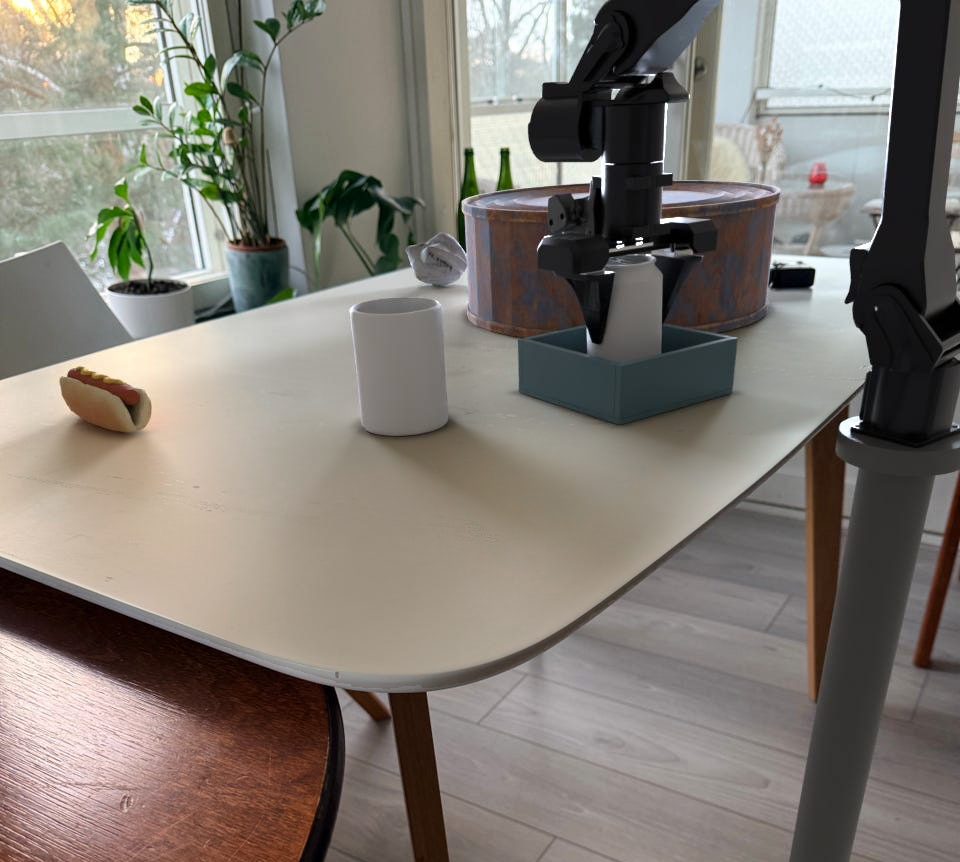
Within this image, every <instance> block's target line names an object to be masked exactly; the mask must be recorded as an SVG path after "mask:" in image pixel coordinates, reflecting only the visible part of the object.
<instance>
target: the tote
mask: <svg viewBox="0 0 960 862" xmlns="http://www.w3.org/2000/svg"><path fill="white" fill-rule="evenodd" d="M738 340H739V338H738V337H735V336H730V335H725V334H721V333H711V332H706V331H701V330H696V329H691V328H686V327H681V326H676V325H671V324H666V323H664V324H663V326H662V337H661V354H658V355H654V356H650V357H646V358H642V359H638V360H633V361H629V362H625V363H620V362H616V361H612V360H608V359H604V358H600V357H596V356H592V355H588V354H587V326H586V325H583V326H578V327H574V328H569V329H564V330H559V331H554V332H550V333H545V334H540V335H535V336H530V337H526V338H524V337H520V338H517V366H518V369H517V370H518V371H517V372H518V393H520V394H523V395H527V396H530V397H533V398H536V399H538V400H542V401H545V402H547V403H550V404H551V403H552V404H554V405H557V406H560V407H563V408H566V409H570V410H572V411H575V412H578V413H581V414H585V415H587V416H590V417H593V418H597V419H600V420H603V421H606V422H609V423H613V424H614V425H618V426H621V425H625V424H628V423H631V422H636V421H639V420H643V419H646V418H649V417H653V416H656V415H661V414H663V413H667V412H670V411H674V410H678V409H681V408H684V407H687V406H691V405H695V404H699V403H702V402H706V401H708V400H713V399H716V398H719V397H722V396H723V397H724V396H726V395H730V394H733V390H734V379H735V369H736V361H737V347H738Z"/></svg>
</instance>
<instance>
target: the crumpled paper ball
mask: <svg viewBox="0 0 960 862" xmlns="http://www.w3.org/2000/svg"><path fill="white" fill-rule="evenodd" d="M462 247H463V246H461V245H460V243H459V241H458V240H456V238H455V237H453V236H452V235H451V234H450V233H448V232H443V231H441V232H439V233H438V234H436V235H434V237H432V238H430V239H428V241H426V242H423V241H422V242H419V243H417V244H414V245H408V246H406V248H405V253H406V254H407V256H408V260H409V263H410V266H411V268H412V271H413V275H414V277H415V278H416V279H417V280H418V281H419V282H422V283H424V284H428V285H434V286H445V285H451V284H454V283H455V282H457V281H458V280H459V279H460V278H461V276H462V275H464V273H465V272H466V271H467V254H466V252H465V249H463V248H462Z"/></svg>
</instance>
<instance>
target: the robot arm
mask: <svg viewBox="0 0 960 862" xmlns="http://www.w3.org/2000/svg"><path fill="white" fill-rule="evenodd" d="M723 1H724V0H606V2H604V3H603V4H602V5H601V6H600V7H599V9H598V10H597V13H596V14H595V17H594V20H593V24H594V26H593V32H592V35H591V37H590V39H589V40H588V43H587V45H586V46H585V49H584V51H583V52H582V55H581V57H580V59H579V61H578V63H577V65H576V67H575V69H574V71H573V73H572V74H571V77H570V79H569V81H568V82H567V81H545V82H543V83H542V84H541V97H540V98H539V99H538V100H537V102H536V103H535V105H534V107H533V108H532V112H531V115H530V120H529V122H528V124H527V138H528V143H529V144H528V145H529V147H530V150H531V151H532V154H533V155H534V157H535V158H536V159H537V160H538V161H540V162H542V163H594V162H596V161H598V160H599V159H600V158H601V167H600V175H599V174H598V175H592V176H591V180H590V182H589V183H590V193H589V195H588V196H586V197H584V198H579V199H575V200H574V198H573V196H572V195H571V194H570V193H563V194H556V195H554V196H552V197H550V198H549V199H548V209H547V220H548V224H549V229H550V231H551V232H552V233H558V232H562V233H563V234H559V235H552V236H545V237H544V238H543V239H542V241H541V243H540V244H539V246H538V249H537V269H543V270H550V271H553V273H554V275H555V276H557V277H563V278H564V279H565V280H566V282H567V283H568V284H569V285H570V286H571V287H572V289H573V291H574V293H575V295H576V298H577V300H578V302H579V305H580V308H581V311H582V314H583V317H584V320H585V323H586V326H587V329H588V332H589V335H590V338H591V341H592V343H594V344H601V343H602V340H603V336H604V333H605V329H606V323H607V317H608V312H609V306H610V300H611V294H612V289H613V283H614V277H615V272H609V271H605V265H606V264H607V262H608V261H609V258H612V257H618V256H624V255H630V254H636V253H642V252H648V251H651V253H649V254H643V255H650V256H653V257H655V258H656V262H655V266H656V267H657V268H658V269H659V270H660V272H661V273H662V275H663V285H662V326H663V324H664V322H665V320H666V318H667V316H668V314H669V312H670V310H671V308H672V306H673V304H674V302H675V300H676V298H677V296H678V294H679V293H680V291H681V289H682V287H683V286H684V284H685V282H686V281H687V279H688V277H689V276H690V274H691V272H692V271H693V269H694V267H695V266H696V264H697V263H699V262H702V259H703V256H698V255H693V253H704V252H710V251H715V250H716V247H717V234H718V230H717V228H716V226H715V225H714V223H713V221H712V220H710V219H697V218H684V217H677V218H670V219H663V220H661V213H662V192H663V187H664V186H672V183H673V180H674V179H673V178H674V173H673V172H672V173H671V172H665V171H664V169H665V152H666V151H665V150H666V132H667V128H666V127H667V110H668V104H677V103H679V104H680V103H687V102H689V100H690V99H691V94H690V92H688V91H687V89H686V88H685V87H684V86H683V85H682V84H680V82H679V81H678V80H677V78H676V77H675V74H674V72H672V71H667V70H668V69H670V68H671V66H673V64H674V63H675V62H676V61H677V59H678V58H679V57H680V56H681V55H682V54H683V53H684V52H685V50H686V49H687V48H688V47H690V45H691V44H692V43H693V42H694V41H695V39H696V37H697V35H698V33H699V31H700V29H701V28H702V25H703V23H704V21H705V20H706V18H707V17H708V16H709V15H710V14H711V12H712V11H713V10H714V9H715V8H716V7H717V6H719V4H721V3H722V2H723ZM897 4H898V7H897V19H896V20H897V21H896V32H895V43H894V44H895V45H894V56H893V67H892V81H891V91H890V105H889V117H888V127H887V128H888V129H887V140H886V152H885V165H884V177H883V187H882V189H883V190H882V199H881V200H882V201H881V213H880V214H881V215H880V219H879V223H878V226H877V228H876V230H875V233H874V235H873V236H872V240H871V242H869V243H866V244H862V245H859V246H856V247H854V248H853V247H852V248H851V249H850V251H849V258H848V259H849V261H848V262H849V274H850V275H849V276H850V283H849V288H848V292H847V295H846V297H845V299H844V304H845V305H849V304H851V303H852V306H851V312H852V320H853V322H854V326H855V327H856V328H857V329H859V331H860V332H861V333H862V334H863V335H864V336H865V342H866V348H867V354H868V360H869V364H870V366H871V370H868V372H866V373H865V377H864V384H863V390H862V396H861V401H860V407H859V413H858V416H859V419H860V420H862V421H861V422H858V423H855V424H853V425H851V428H850V431H852V432H855V433H859V434H863V435H866V436H870V437H874V438H878V439H881V440H885V441H889V442H893V443H897V444H900V445H904V446H908V447H912V448H922V447H924V446H927V445H930V444H932V443H935V442H937V441H940V440H943V439H945V438H948V437H950V436H953V435H956V434H958V433H960V426H957V425H953V424H952V422H954V418H955V413H956V408H957V404H958V399H959V395H960V359H958V358H956V356H958V355H960V299H959V297H958V295H957V292H958V291H957V289H958V285H957V267H956V249H955V245H954V242H953V238H952V234H951V231H950V230H951V229H950V227H949V223H948V219H947V211H946V206H947V205H946V204H947V197H948V196H947V195H948V188H949V179H950V170H951V161H952V151H953V142H954V135H955V124H956V117H957V107H958V98H959V91H960V90H959V89H960V0H897ZM649 76H654V78H652V80H651V81H650V82H645V83H643V82H644V81H645V80H647V78H648V77H649ZM613 91H618V92H617V93H616V94H615V96H614V98H613V99H612V93H613Z"/></svg>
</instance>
